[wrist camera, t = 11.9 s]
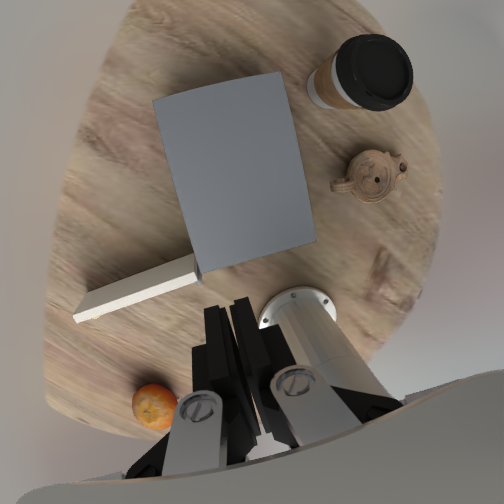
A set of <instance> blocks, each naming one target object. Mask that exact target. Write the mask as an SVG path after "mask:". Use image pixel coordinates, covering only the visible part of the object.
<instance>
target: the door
mask: <svg viewBox="0 0 504 504" xmlns="http://www.w3.org/2000/svg"><path fill="white" fill-rule="evenodd" d="M193 282H195V283H196V284H197V285H200V284H201V283H202V274H201V272H200V269H199V266H198V263H197V260H196V256H195V253H192V254H189V255H187V256H184V257H181V258H179V259H176V260H173V261H170V262H168V263H165V264H162V265H160V266H157V267H154V268H151V269H149V270H146V271H143V272H141V273H138V274H135V275H133V276H130V277H127V278H125V279H122V280H119V281H117V282H114V283H111V284H109V285H106V286H103V287H101V288H98V289H96V290H93V291H90V292H88V293H86V295H85V296H84V298H83V299H82V301H81V303H80V304H79V306H78V307H77V309H76V310H75V312H74V314H73V315H72V316H73V318H74V319H75V321H76V323H79V322H82V321H85V320H88V319H91V318H92V319H97V318H99V317H100V316H101V315H102V314H105V313H108V312H111V311H114V310H117V309H119V308H122V307H125V306H128V305H131V304H134V303H137V302H139V301H142V300H145V299H148V298H151V297H154V296H156V295H159V294H162V293H165V292H168V291H171V290H174V289H176V288H179V287H182V286H185V285H188V284H190V283H193Z"/></svg>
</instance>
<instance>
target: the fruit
mask: <svg viewBox="0 0 504 504" xmlns="http://www.w3.org/2000/svg"><path fill="white" fill-rule="evenodd" d="M177 399H179V397H178V398H176V397H175V396H174V394H173V393H172V392H171V391H170V390H169V389H167V388H165V387H163V386H162V385H160V384H156V383H153V384H149V385H146V386H144V387H142V388H140V389H139V390H138V391H137V392H136V393H135V394H134V395H133V399H132V409H133V413H134V416H135V418H136V419H137V420H138V421H140V422H141V424H142V425H143V426H145V427H149V428H153V429H156V430H162V429H165V428H168V427H169V426H170V425H171V424H172V421H173V416H174V411H175V408H176V406H177V404H178V402H177Z"/></svg>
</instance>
